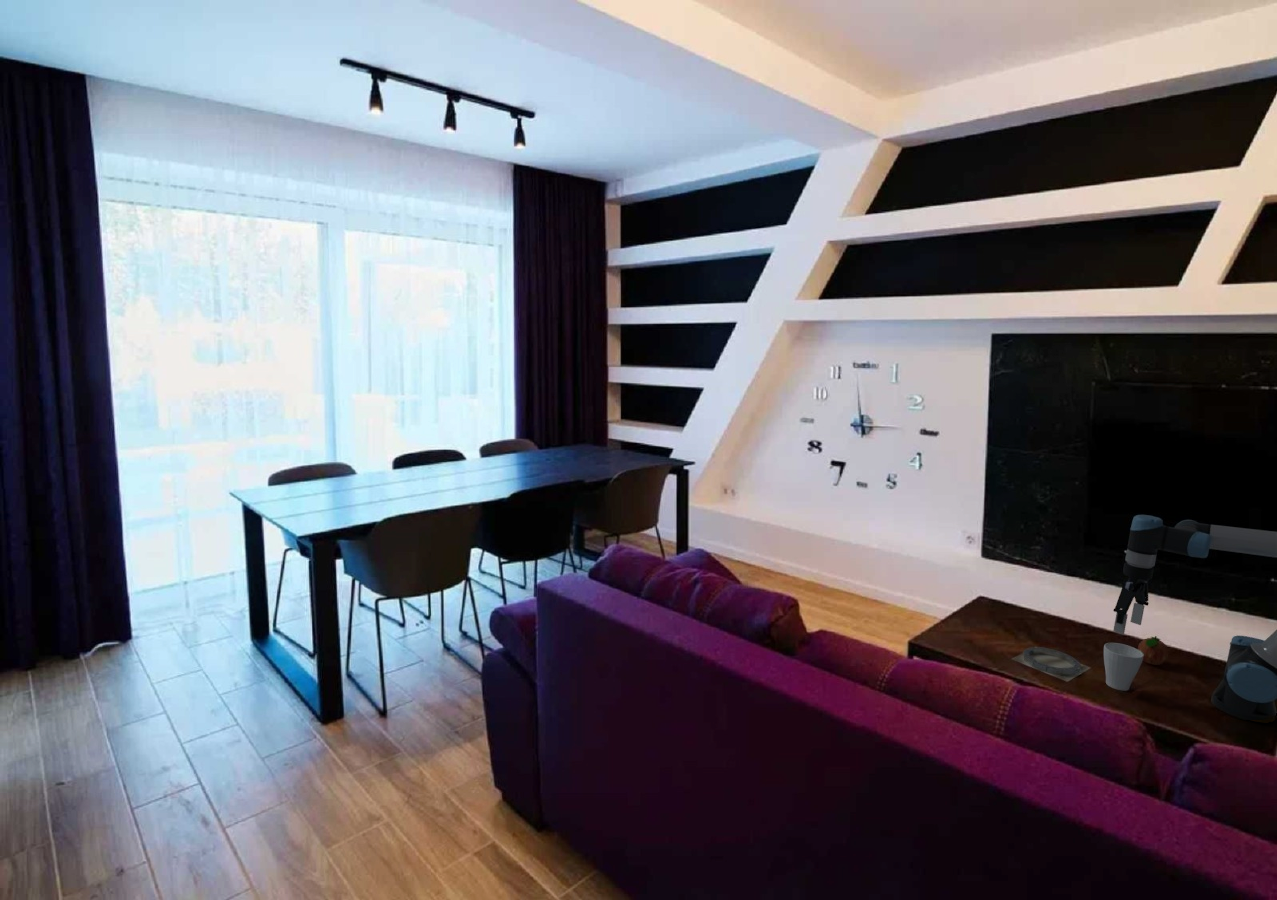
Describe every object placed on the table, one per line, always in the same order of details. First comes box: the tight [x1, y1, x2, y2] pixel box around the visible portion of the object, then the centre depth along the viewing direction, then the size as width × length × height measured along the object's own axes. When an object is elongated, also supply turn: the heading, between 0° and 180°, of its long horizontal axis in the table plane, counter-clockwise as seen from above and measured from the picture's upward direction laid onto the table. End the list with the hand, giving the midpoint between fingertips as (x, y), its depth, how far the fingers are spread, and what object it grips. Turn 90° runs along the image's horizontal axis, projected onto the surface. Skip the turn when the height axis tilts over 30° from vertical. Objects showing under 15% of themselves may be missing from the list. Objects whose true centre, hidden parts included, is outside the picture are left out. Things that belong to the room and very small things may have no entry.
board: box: [1011, 652, 1092, 682], centre depth 235 cm, size 18×18×1 cm
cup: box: [1103, 642, 1144, 692], centre depth 221 cm, size 10×10×14 cm
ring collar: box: [1022, 646, 1081, 675], centre depth 235 cm, size 16×16×2 cm
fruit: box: [1137, 635, 1169, 666], centre depth 241 cm, size 9×10×10 cm
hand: (1127, 627), depth 219 cm, fingers open, 13 cm apart
